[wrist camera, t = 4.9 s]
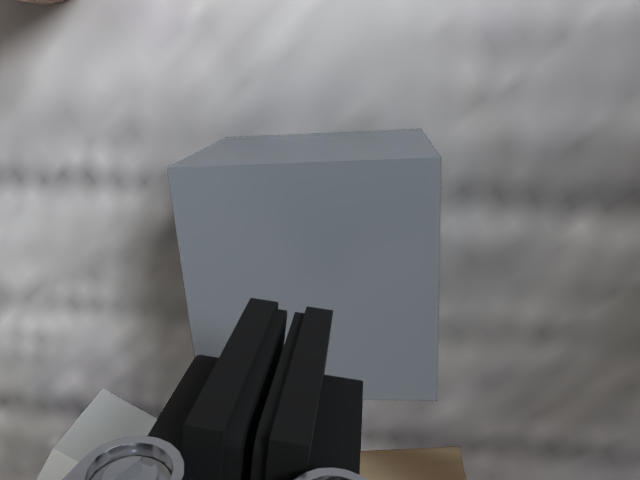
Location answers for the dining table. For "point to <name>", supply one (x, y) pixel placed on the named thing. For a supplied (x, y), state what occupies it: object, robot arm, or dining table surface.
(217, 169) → the slate block
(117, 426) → the pale grey block
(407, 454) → the oak cube
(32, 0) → the terracotta cylinder
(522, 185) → the dining table surface
